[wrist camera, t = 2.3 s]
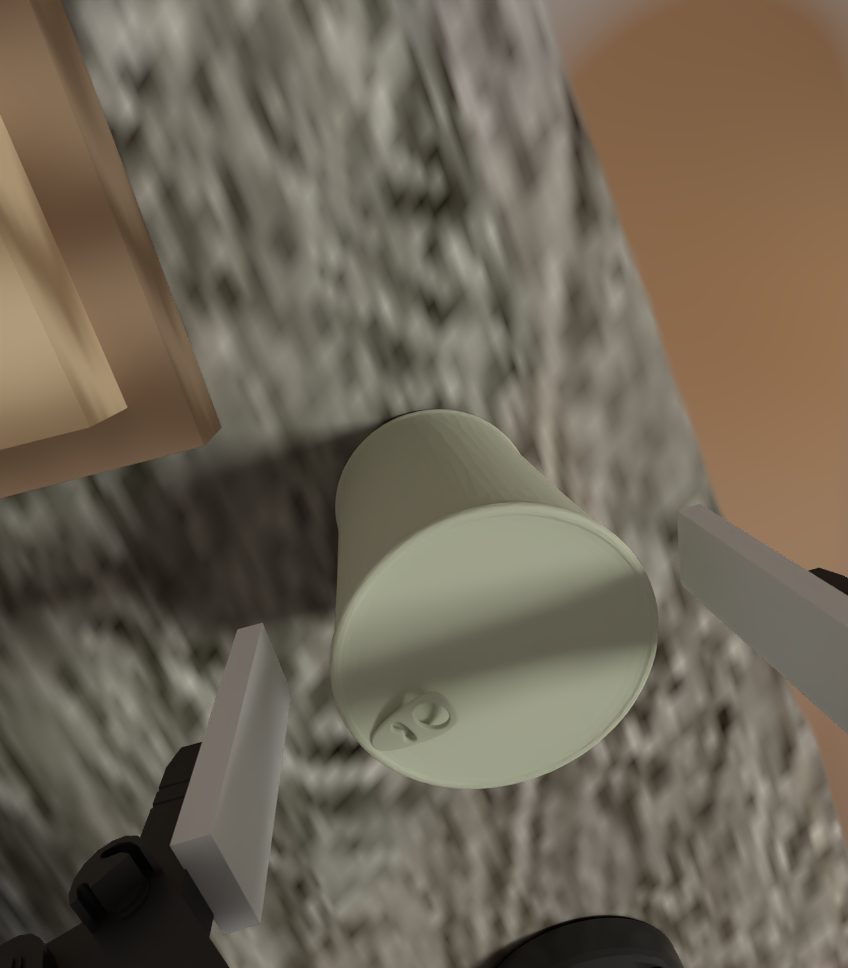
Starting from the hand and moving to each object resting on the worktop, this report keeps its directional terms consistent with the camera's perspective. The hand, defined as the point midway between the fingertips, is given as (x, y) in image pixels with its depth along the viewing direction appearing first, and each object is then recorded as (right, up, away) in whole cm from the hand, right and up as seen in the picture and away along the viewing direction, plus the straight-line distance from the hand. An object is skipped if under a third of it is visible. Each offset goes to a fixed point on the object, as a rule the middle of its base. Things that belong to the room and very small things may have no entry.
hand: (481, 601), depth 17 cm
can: (-1, +3, +9) cm, 9 cm away
